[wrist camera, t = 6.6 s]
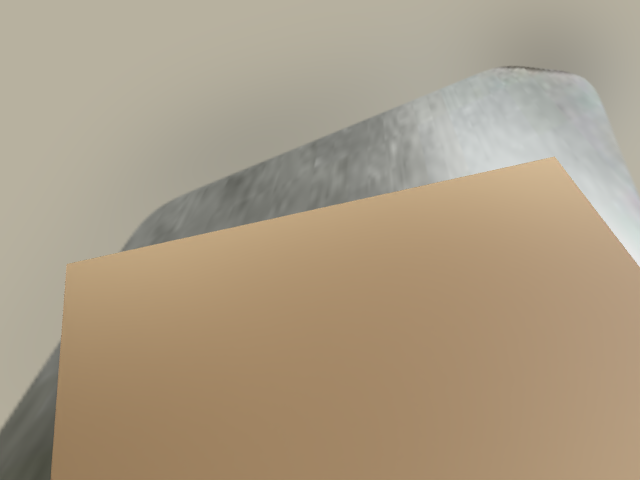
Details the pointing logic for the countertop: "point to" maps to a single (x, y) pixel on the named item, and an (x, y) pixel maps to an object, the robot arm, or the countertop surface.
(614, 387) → the oak post
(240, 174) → the countertop surface
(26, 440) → the countertop surface
